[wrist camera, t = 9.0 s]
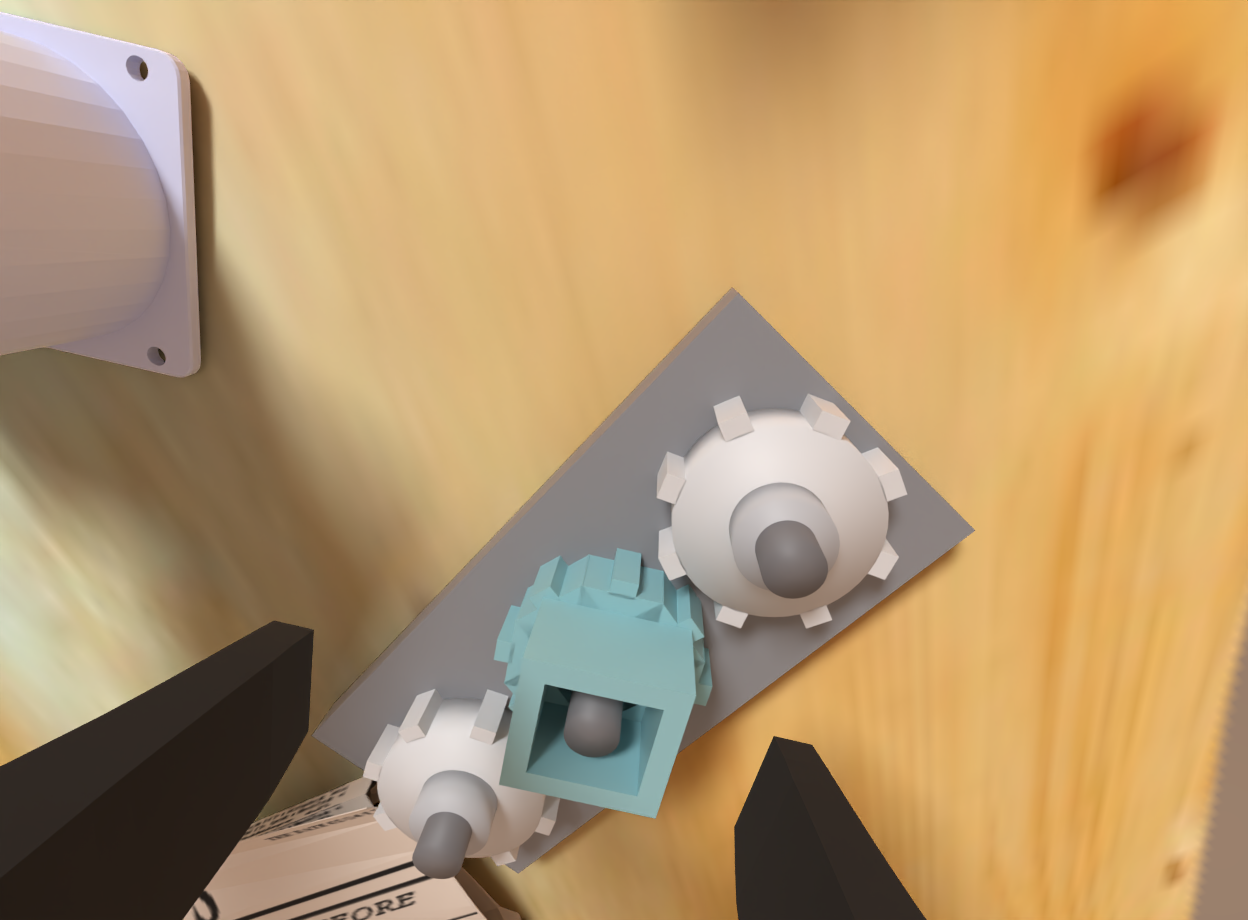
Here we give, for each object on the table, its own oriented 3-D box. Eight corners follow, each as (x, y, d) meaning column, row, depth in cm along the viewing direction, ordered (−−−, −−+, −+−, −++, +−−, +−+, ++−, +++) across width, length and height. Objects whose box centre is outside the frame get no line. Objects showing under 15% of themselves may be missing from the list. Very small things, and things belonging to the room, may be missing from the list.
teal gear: (496, 692, 19) (455, 804, 15) (524, 527, 17) (484, 611, 13) (681, 732, 19) (684, 854, 16) (733, 574, 17) (751, 670, 13)
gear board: (526, 835, 24) (492, 984, 19) (334, 703, 22) (243, 833, 17) (950, 506, 18) (1053, 607, 13) (732, 287, 16) (759, 312, 11)
